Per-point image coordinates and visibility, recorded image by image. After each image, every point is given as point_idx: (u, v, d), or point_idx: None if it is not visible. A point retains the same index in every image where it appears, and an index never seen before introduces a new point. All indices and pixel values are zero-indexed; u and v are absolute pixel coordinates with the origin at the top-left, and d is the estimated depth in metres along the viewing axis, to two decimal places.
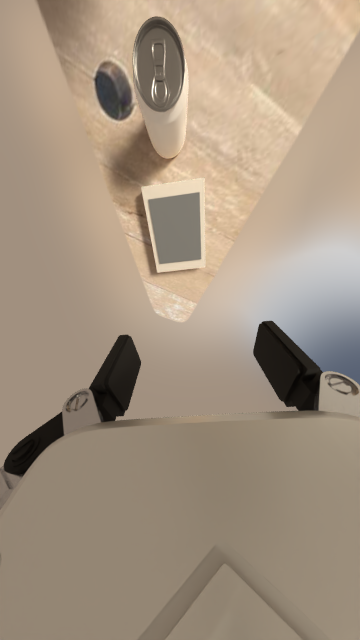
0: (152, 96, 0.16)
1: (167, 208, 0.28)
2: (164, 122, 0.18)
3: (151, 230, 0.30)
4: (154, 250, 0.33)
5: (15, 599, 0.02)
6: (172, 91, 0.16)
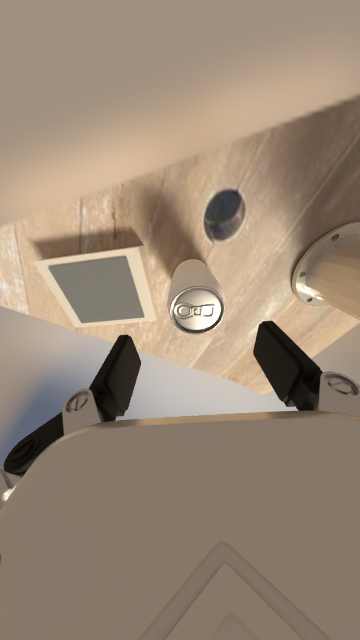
0: (181, 302, 0.14)
1: (122, 283, 0.22)
2: (168, 309, 0.16)
3: (91, 257, 0.20)
4: (65, 259, 0.20)
5: (15, 599, 0.02)
6: (184, 322, 0.15)
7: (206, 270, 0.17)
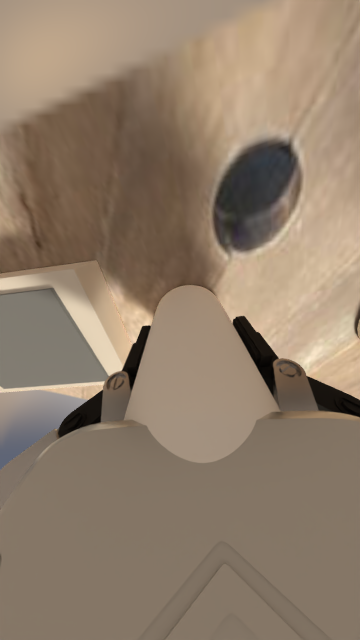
0: None
1: (56, 333, 0.11)
2: None
3: None
4: None
5: (15, 599, 0.02)
6: None
7: (225, 331, 0.07)
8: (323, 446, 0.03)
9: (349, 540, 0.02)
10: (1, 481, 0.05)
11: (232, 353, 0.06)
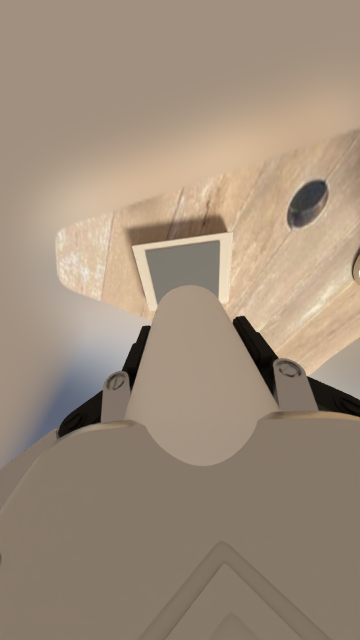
0: None
1: (208, 266, 0.24)
2: None
3: (187, 241, 0.22)
4: (162, 244, 0.22)
5: (15, 599, 0.02)
6: None
7: (225, 332, 0.07)
8: (323, 446, 0.03)
9: (349, 540, 0.02)
10: (1, 481, 0.05)
11: (232, 354, 0.06)
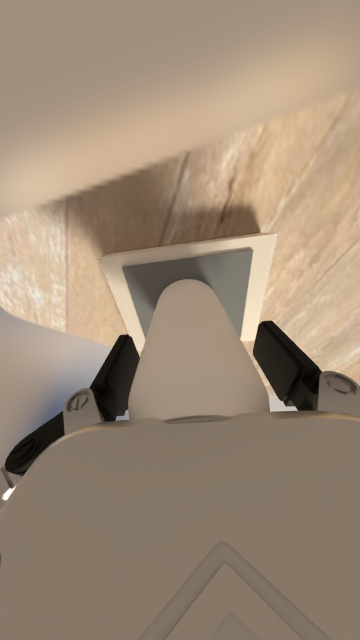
0: None
1: (229, 290, 0.14)
2: None
3: (194, 250, 0.13)
4: (151, 254, 0.13)
5: (15, 600, 0.02)
6: None
7: (218, 315, 0.08)
8: (323, 446, 0.03)
9: (349, 540, 0.02)
10: None
11: (222, 330, 0.07)
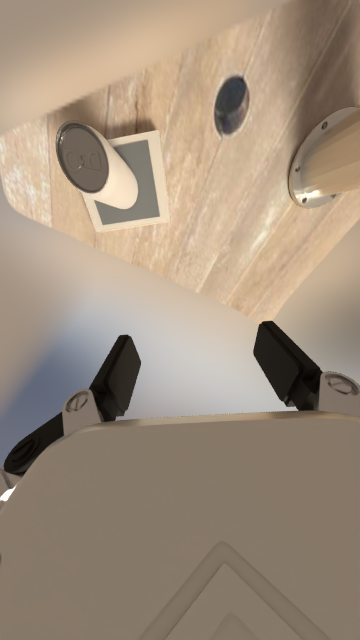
0: (66, 148, 0.16)
1: (142, 172, 0.25)
2: None
3: (117, 142, 0.23)
4: None
5: (15, 599, 0.02)
6: (78, 178, 0.17)
7: None
8: (323, 446, 0.03)
9: (349, 540, 0.02)
10: None
11: None
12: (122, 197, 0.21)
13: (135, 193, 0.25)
